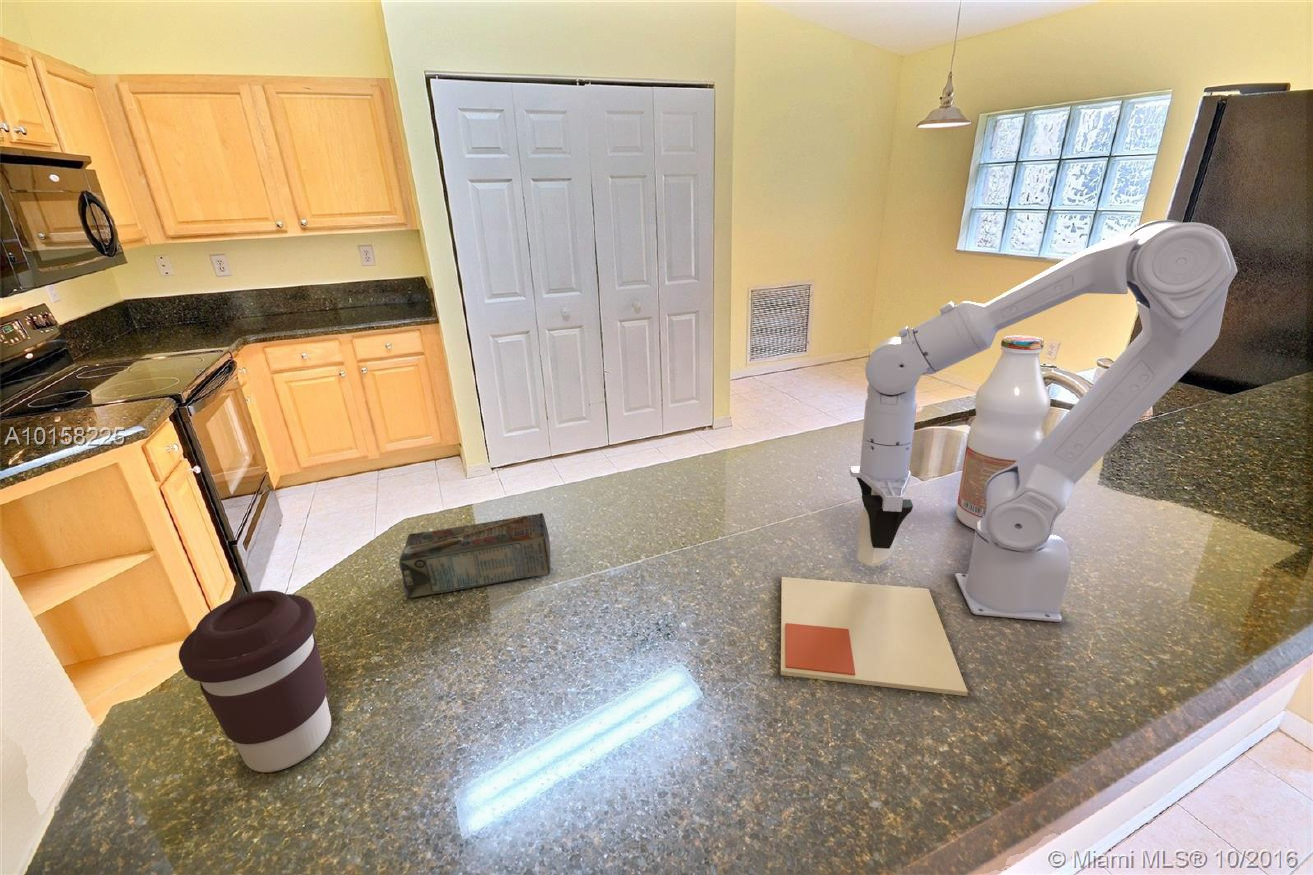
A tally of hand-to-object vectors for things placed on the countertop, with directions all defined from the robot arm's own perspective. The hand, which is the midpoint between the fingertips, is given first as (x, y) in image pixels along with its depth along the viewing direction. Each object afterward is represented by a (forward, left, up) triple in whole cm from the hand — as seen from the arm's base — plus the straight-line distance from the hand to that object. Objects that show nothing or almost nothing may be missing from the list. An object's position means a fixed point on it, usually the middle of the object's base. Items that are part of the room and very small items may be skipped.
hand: (877, 534), depth 75 cm
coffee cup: (+58, +37, -6) cm, 69 cm away
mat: (+3, +12, -6) cm, 14 cm away
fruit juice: (-19, -16, -6) cm, 25 cm away
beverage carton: (+53, +8, -6) cm, 54 cm away
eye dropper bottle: (0, 0, -4) cm, 4 cm away
